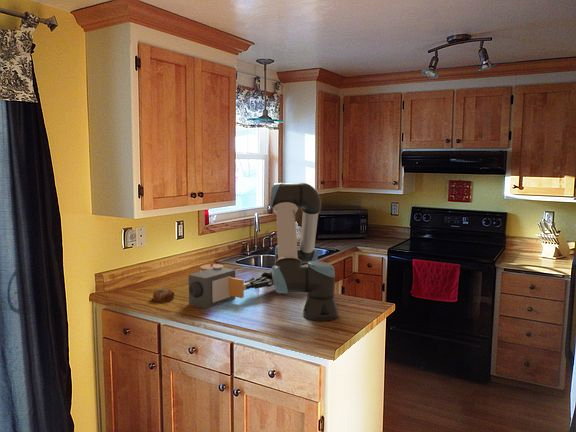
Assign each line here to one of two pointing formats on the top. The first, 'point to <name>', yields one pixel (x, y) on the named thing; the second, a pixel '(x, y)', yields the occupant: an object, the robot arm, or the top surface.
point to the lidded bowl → (209, 266)
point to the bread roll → (163, 294)
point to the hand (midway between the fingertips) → (240, 288)
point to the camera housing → (206, 286)
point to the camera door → (227, 288)
